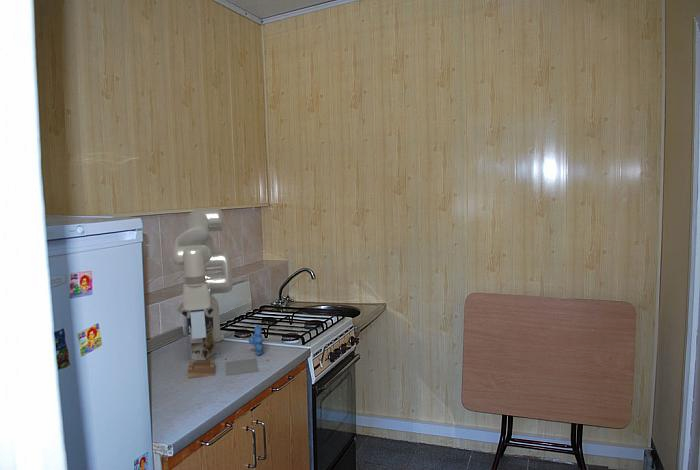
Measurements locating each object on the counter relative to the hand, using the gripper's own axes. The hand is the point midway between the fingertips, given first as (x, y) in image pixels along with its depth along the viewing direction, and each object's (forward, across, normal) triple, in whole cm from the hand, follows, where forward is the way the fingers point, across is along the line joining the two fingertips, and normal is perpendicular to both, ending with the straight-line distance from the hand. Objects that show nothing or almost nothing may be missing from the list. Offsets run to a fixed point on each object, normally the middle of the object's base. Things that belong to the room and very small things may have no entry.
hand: (198, 326), depth 184 cm
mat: (+18, -15, 0) cm, 24 cm away
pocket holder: (+18, 0, 0) cm, 18 cm away
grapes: (+19, -22, -14) cm, 32 cm away
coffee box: (+19, 0, -18) cm, 26 cm away
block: (+4, 0, 0) cm, 4 cm away
